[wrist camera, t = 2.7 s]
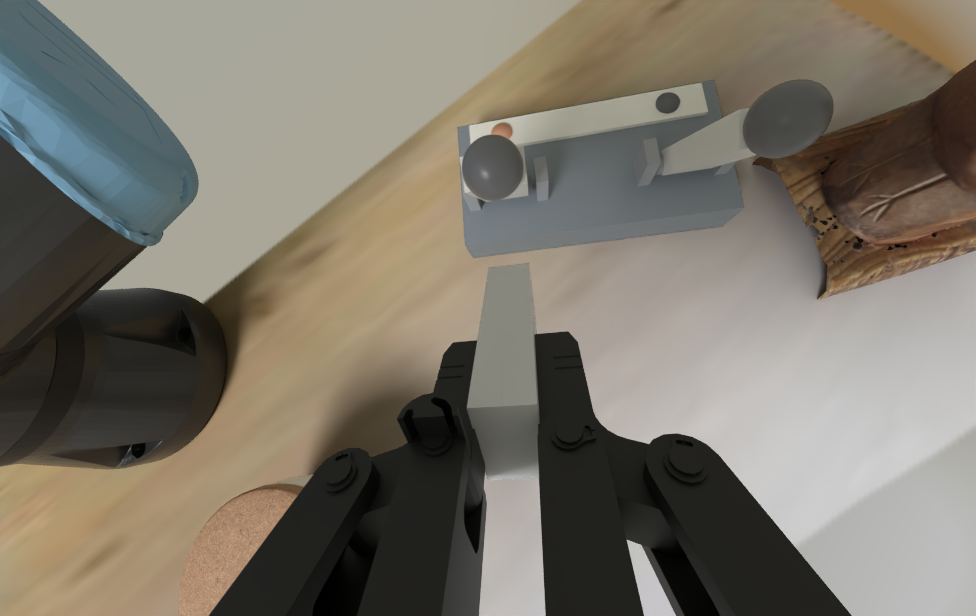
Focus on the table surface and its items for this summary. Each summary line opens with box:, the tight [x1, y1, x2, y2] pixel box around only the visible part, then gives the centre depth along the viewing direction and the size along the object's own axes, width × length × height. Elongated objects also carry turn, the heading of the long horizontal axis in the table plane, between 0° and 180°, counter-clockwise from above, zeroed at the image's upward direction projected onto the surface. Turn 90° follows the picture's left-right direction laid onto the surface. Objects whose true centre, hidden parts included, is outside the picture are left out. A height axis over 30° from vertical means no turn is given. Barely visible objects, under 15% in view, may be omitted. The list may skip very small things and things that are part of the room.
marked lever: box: [460, 134, 532, 202], centre depth 20 cm, size 3×4×12 cm
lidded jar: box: [179, 474, 313, 616], centre depth 22 cm, size 11×11×9 cm
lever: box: [655, 80, 833, 176], centre depth 18 cm, size 3×4×12 cm
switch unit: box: [457, 80, 745, 258], centre depth 26 cm, size 10×19×6 cm, turn 95°
